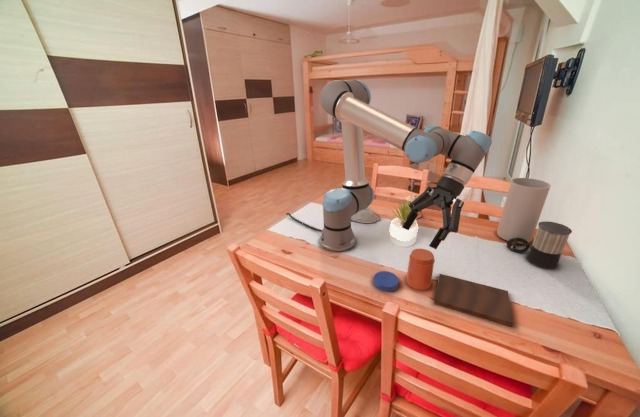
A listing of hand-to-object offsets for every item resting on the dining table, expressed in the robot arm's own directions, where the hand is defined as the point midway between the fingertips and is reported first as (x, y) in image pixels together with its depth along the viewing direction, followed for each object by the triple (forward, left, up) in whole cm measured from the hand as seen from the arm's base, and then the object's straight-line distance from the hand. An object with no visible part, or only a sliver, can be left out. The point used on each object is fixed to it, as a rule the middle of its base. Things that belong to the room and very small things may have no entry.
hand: (417, 237), depth 86 cm
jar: (+2, -2, -16) cm, 16 cm away
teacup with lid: (-9, +52, -16) cm, 55 cm away
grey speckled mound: (-36, +39, -16) cm, 55 cm away
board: (+18, -3, -16) cm, 25 cm away
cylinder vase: (+34, +46, -16) cm, 60 cm away
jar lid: (-8, -7, -15) cm, 18 cm away
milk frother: (+38, +32, -16) cm, 53 cm away
